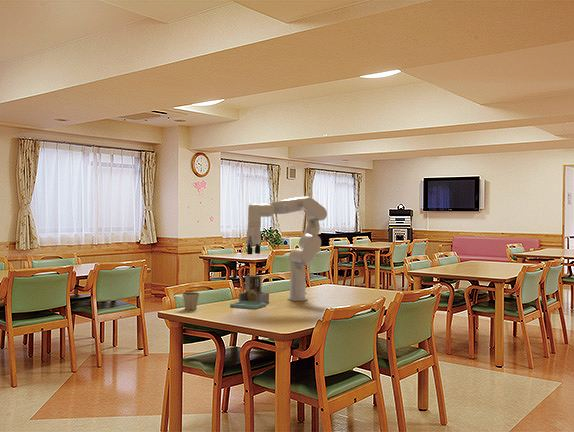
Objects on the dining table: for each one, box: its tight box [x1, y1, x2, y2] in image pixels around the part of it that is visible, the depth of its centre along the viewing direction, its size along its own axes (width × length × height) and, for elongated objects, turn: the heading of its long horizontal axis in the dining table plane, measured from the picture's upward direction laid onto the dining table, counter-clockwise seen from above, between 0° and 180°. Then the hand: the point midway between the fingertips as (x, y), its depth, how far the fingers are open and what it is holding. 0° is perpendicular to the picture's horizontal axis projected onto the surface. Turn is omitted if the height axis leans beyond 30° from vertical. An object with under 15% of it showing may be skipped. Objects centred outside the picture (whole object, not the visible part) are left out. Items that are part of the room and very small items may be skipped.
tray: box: [229, 300, 267, 310], centre depth 318 cm, size 13×16×2 cm
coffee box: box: [244, 275, 263, 302], centre depth 330 cm, size 9×6×16 cm
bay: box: [238, 291, 270, 304], centre depth 331 cm, size 12×14×6 cm
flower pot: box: [182, 291, 200, 311], centre depth 306 cm, size 9×9×9 cm
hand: (253, 253), depth 330 cm, fingers open, 9 cm apart
